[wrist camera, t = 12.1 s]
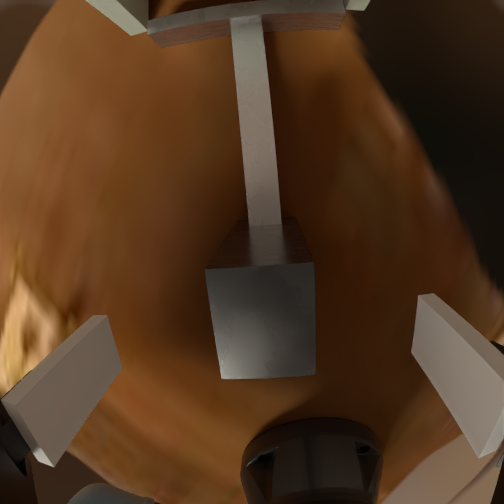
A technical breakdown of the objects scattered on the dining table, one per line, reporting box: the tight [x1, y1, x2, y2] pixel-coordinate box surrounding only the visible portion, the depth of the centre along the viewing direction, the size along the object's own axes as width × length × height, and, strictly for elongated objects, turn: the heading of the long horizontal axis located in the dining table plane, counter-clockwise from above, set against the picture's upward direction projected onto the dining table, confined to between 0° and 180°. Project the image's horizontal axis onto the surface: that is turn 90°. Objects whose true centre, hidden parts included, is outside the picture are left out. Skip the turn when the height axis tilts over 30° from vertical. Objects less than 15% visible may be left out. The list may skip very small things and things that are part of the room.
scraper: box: [148, 0, 346, 379], centre depth 16 cm, size 20×13×11 cm, turn 5°
